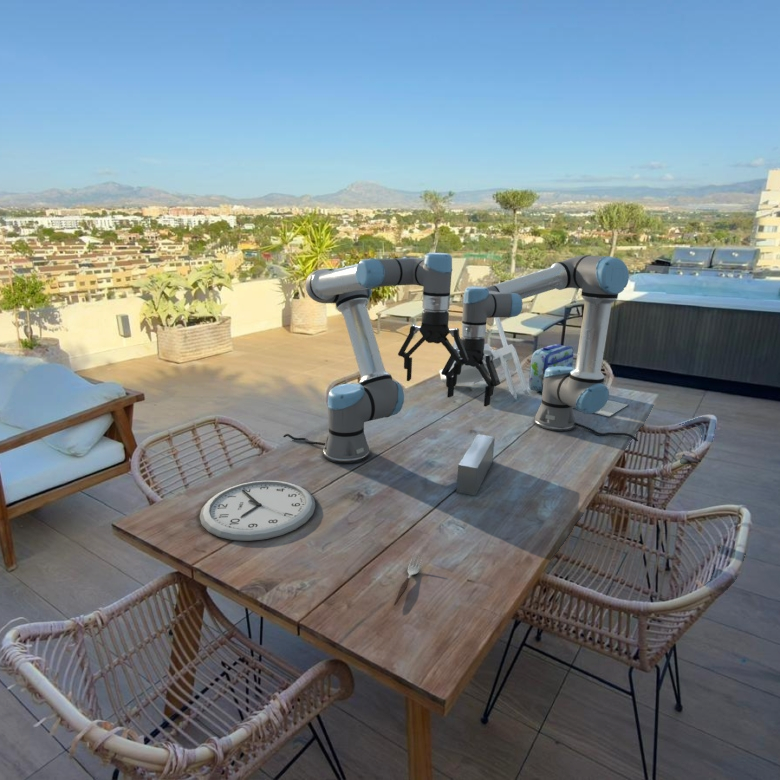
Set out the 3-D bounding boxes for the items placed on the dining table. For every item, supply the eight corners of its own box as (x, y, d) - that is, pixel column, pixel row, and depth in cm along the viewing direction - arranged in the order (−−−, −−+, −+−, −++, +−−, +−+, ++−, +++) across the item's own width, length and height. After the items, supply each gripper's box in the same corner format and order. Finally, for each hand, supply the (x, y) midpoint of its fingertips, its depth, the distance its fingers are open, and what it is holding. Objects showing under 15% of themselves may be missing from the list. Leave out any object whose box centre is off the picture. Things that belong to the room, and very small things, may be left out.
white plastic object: (461, 429, 252) (437, 405, 227) (444, 352, 274) (420, 323, 250) (535, 404, 240) (518, 377, 215) (510, 326, 262) (492, 293, 237)
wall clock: (312, 532, 127) (184, 536, 124) (312, 538, 127) (185, 542, 125) (317, 476, 155) (214, 478, 153) (318, 481, 156) (214, 483, 153)
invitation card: (608, 416, 214) (573, 407, 224) (608, 416, 214) (573, 408, 224) (628, 404, 229) (594, 396, 238) (628, 405, 229) (594, 397, 238)
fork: (388, 605, 105) (388, 597, 104) (412, 560, 119) (412, 553, 119) (400, 609, 104) (400, 600, 104) (423, 563, 119) (423, 555, 118)
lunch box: (545, 397, 238) (550, 352, 231) (524, 391, 245) (529, 348, 239) (572, 386, 255) (578, 344, 249) (552, 381, 262) (557, 340, 256)
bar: (476, 458, 174) (477, 434, 171) (492, 461, 172) (494, 436, 169) (456, 492, 151) (458, 464, 149) (475, 495, 149) (477, 468, 147)
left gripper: (389, 308, 146) (387, 381, 153) (478, 315, 140) (472, 390, 147) (396, 304, 153) (393, 374, 160) (481, 311, 147) (475, 383, 153)
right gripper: (433, 333, 169) (430, 395, 175) (503, 344, 155) (497, 412, 161) (445, 330, 175) (442, 390, 181) (514, 341, 160) (508, 406, 167)
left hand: (431, 382), depth 153 cm, fingers open, 13 cm apart
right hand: (468, 400), depth 171 cm, fingers open, 13 cm apart
